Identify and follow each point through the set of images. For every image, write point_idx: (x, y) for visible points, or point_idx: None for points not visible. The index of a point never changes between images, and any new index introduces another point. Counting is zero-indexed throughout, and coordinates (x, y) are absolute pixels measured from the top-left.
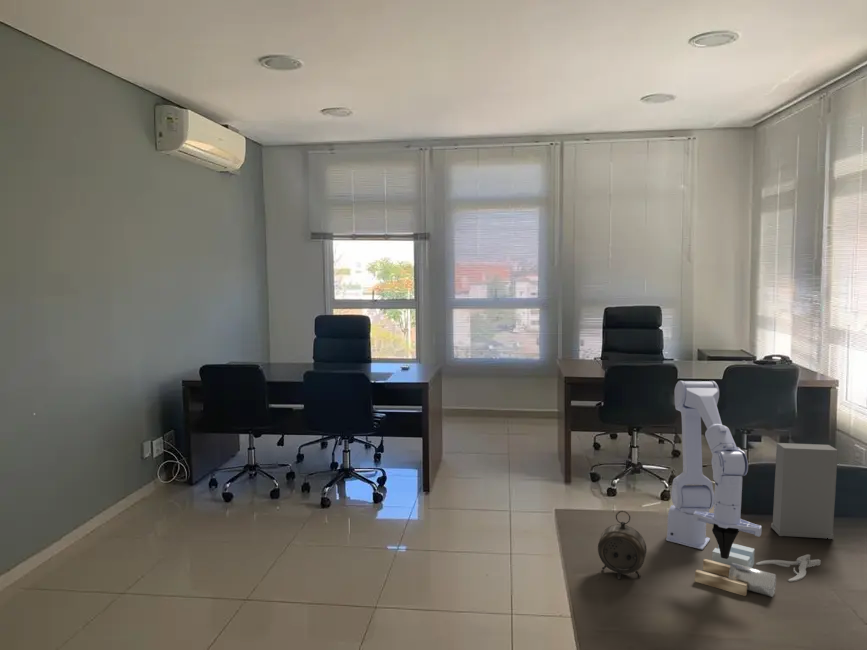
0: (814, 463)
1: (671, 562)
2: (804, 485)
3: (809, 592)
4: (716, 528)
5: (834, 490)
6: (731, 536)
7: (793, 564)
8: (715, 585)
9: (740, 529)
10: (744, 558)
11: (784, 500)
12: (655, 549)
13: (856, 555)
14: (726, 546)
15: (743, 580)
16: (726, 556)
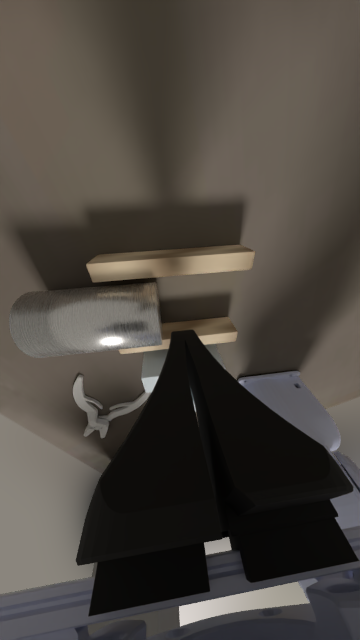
0: None
1: (296, 305)
2: None
3: (28, 364)
4: (300, 504)
5: (94, 564)
6: (128, 489)
7: (109, 413)
8: (183, 249)
9: (73, 616)
10: (152, 381)
11: None
12: (323, 334)
13: (74, 455)
14: (178, 373)
15: (109, 290)
16: (173, 337)
